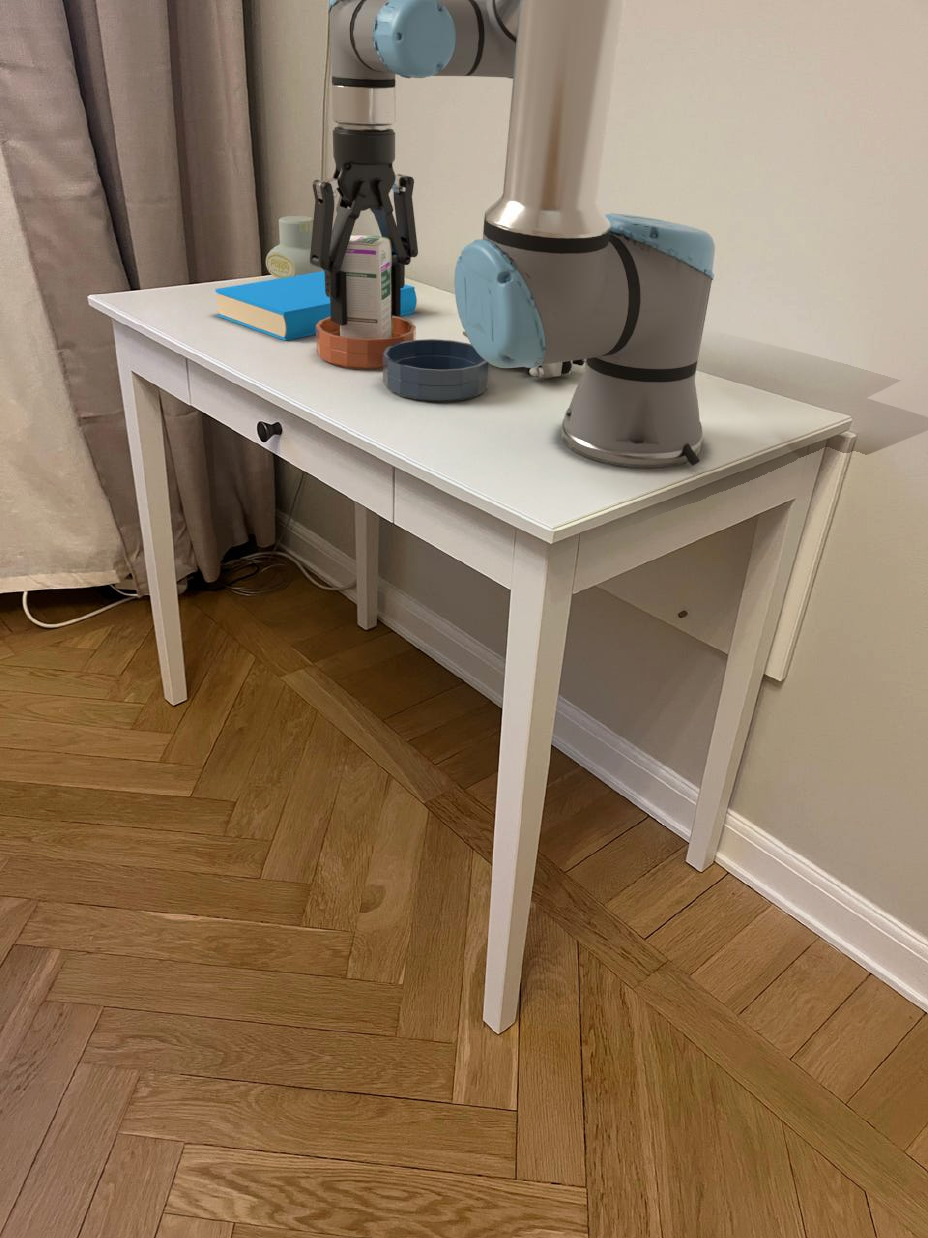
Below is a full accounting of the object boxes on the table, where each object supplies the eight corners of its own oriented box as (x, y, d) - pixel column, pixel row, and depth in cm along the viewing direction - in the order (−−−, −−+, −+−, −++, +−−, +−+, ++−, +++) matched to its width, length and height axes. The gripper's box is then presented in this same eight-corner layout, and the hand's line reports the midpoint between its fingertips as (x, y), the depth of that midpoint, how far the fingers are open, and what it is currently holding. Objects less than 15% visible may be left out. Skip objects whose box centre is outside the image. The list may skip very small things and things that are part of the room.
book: (213, 289, 144) (343, 264, 160) (216, 318, 146) (344, 291, 162) (287, 313, 134) (417, 284, 150) (289, 344, 137) (417, 313, 153)
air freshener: (259, 278, 167) (255, 216, 162) (296, 272, 173) (293, 211, 168) (303, 290, 162) (300, 226, 156) (339, 283, 167) (338, 220, 162)
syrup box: (382, 360, 129) (381, 244, 122) (338, 356, 130) (336, 240, 123) (393, 349, 134) (393, 236, 127) (351, 344, 135) (349, 233, 128)
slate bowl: (509, 390, 122) (511, 359, 120) (427, 410, 115) (427, 377, 113) (443, 364, 131) (444, 333, 129) (363, 380, 123) (362, 349, 121)
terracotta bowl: (434, 360, 132) (435, 330, 130) (354, 376, 125) (353, 345, 123) (377, 337, 140) (377, 308, 138) (299, 351, 133) (297, 321, 131)
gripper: (413, 120, 126) (411, 302, 138) (272, 124, 115) (283, 322, 127) (450, 126, 122) (444, 313, 133) (307, 131, 110) (314, 336, 122)
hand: (366, 317), depth 130 cm, fingers closed on syrup box, 8 cm apart
